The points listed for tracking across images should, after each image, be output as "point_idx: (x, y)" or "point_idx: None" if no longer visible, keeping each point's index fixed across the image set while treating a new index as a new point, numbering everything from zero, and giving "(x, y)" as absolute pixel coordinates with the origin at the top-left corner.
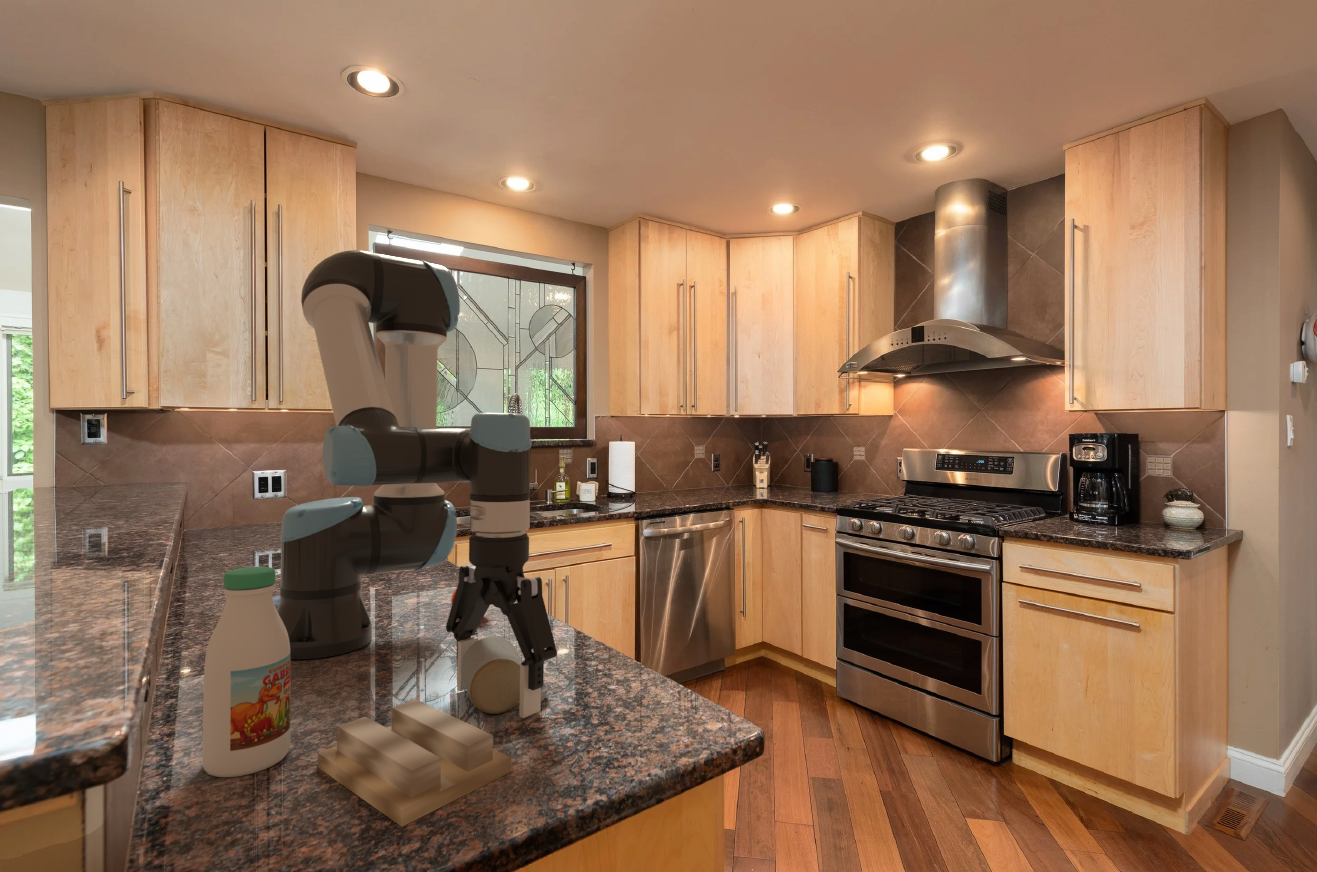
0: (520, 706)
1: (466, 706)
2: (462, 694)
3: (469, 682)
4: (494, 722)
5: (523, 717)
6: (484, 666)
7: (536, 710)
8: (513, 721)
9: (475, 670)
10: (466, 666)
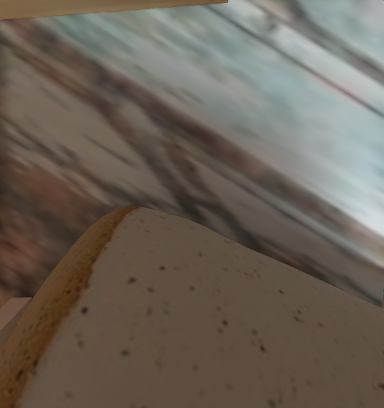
0: (3, 319)
1: (261, 232)
2: (367, 281)
3: (146, 234)
4: (69, 224)
5: (10, 298)
6: (13, 369)
7: None
8: (34, 269)
9: (106, 306)
10: (320, 336)
